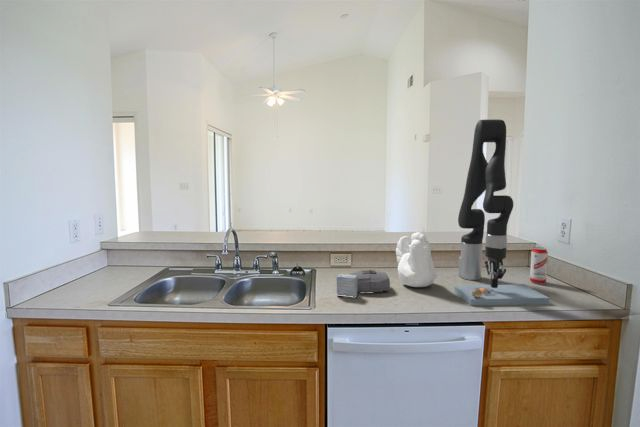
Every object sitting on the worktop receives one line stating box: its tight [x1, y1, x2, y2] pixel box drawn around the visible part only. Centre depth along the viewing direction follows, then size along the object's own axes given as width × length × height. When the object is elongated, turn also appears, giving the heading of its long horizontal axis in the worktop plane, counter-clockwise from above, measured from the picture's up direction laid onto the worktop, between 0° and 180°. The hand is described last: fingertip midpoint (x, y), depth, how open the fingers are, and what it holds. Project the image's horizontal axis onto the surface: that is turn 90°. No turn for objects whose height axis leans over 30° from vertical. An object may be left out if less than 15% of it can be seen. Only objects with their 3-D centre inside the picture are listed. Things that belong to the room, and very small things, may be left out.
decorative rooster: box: [395, 231, 438, 288], centre depth 157 cm, size 25×16×25 cm, turn 6°
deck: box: [453, 283, 550, 306], centre depth 138 cm, size 30×16×2 cm, turn 90°
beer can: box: [529, 246, 549, 285], centre depth 155 cm, size 6×6×16 cm
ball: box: [480, 288, 488, 294], centre depth 138 cm, size 4×4×4 cm
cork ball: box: [472, 289, 482, 298], centre depth 131 cm, size 4×4×4 cm
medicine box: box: [336, 273, 358, 297], centre depth 142 cm, size 8×4×9 cm, turn 71°
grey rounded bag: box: [348, 269, 391, 293], centre depth 151 cm, size 15×8×20 cm
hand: (494, 287), depth 138 cm, fingers closed
